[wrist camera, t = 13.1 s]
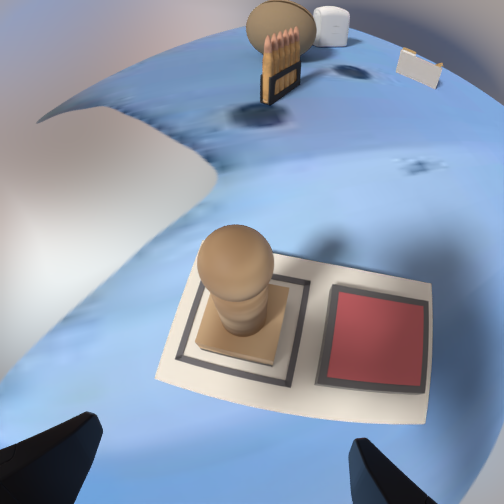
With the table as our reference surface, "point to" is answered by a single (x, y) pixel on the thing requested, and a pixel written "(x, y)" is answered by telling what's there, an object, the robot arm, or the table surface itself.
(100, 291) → the table surface
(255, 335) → the stamp
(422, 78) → the model
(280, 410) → the stamping board
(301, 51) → the brown grooved ball
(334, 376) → the ink pad
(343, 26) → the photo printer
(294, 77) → the ammunition clip
